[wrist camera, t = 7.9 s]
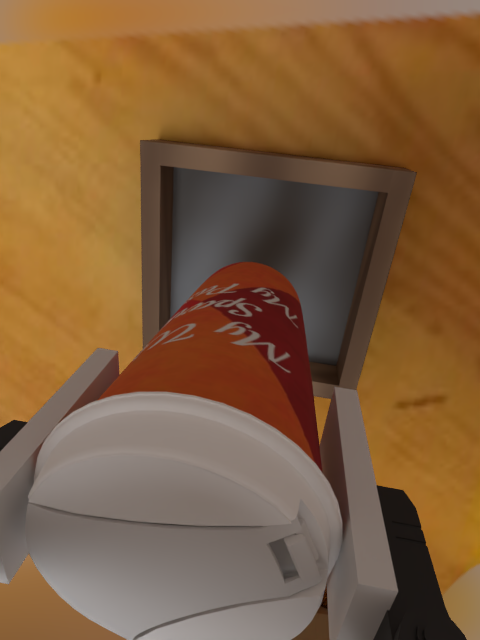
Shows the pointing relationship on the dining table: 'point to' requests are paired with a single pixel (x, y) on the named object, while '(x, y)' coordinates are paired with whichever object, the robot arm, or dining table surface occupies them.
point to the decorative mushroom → (316, 627)
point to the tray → (274, 238)
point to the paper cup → (195, 478)
